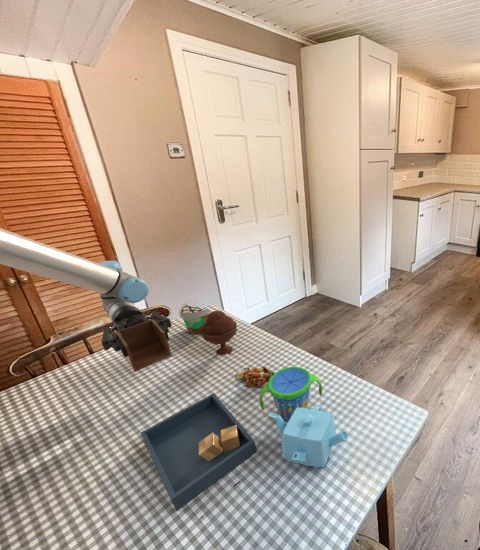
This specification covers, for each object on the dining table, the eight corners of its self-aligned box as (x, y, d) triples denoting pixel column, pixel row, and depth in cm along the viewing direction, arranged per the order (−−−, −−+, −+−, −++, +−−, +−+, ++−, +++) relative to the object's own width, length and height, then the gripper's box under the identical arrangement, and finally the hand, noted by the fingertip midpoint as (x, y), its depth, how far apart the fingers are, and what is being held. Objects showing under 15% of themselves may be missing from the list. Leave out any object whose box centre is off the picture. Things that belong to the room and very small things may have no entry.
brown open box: (124, 355, 87) (115, 331, 84) (160, 341, 93) (152, 318, 90) (134, 372, 80) (125, 346, 77) (172, 356, 86) (164, 332, 83)
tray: (144, 443, 71) (140, 432, 70) (216, 403, 82) (213, 392, 81) (176, 511, 57) (171, 499, 56) (256, 452, 69) (254, 440, 67)
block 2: (221, 441, 67) (220, 430, 70) (224, 452, 68) (223, 440, 71) (237, 435, 68) (236, 424, 71) (240, 446, 69) (238, 435, 72)
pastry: (242, 368, 95) (240, 359, 94) (277, 373, 93) (276, 364, 92) (228, 384, 89) (226, 374, 88) (266, 390, 87) (264, 380, 85)
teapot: (355, 434, 73) (354, 402, 69) (337, 494, 60) (335, 459, 56) (286, 421, 76) (282, 390, 73) (256, 475, 64) (249, 441, 60)
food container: (176, 333, 114) (170, 310, 110) (191, 325, 119) (185, 302, 116) (200, 340, 110) (194, 316, 106) (214, 331, 115) (209, 308, 111)
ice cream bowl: (199, 360, 99) (189, 320, 94) (220, 341, 109) (212, 304, 104) (229, 363, 98) (220, 323, 92) (247, 343, 108) (240, 306, 102)
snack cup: (321, 391, 86) (319, 361, 82) (325, 420, 77) (323, 389, 73) (264, 400, 83) (259, 370, 79) (261, 432, 73) (255, 400, 70)
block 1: (213, 444, 65) (198, 454, 64) (223, 451, 67) (208, 462, 66) (212, 432, 68) (198, 442, 67) (222, 439, 69) (208, 449, 69)
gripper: (168, 313, 105) (192, 338, 91) (86, 341, 90) (100, 375, 76) (162, 294, 102) (186, 316, 88) (76, 319, 87) (89, 351, 73)
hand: (146, 344), depth 82 cm, fingers closed on brown open box, 9 cm apart
